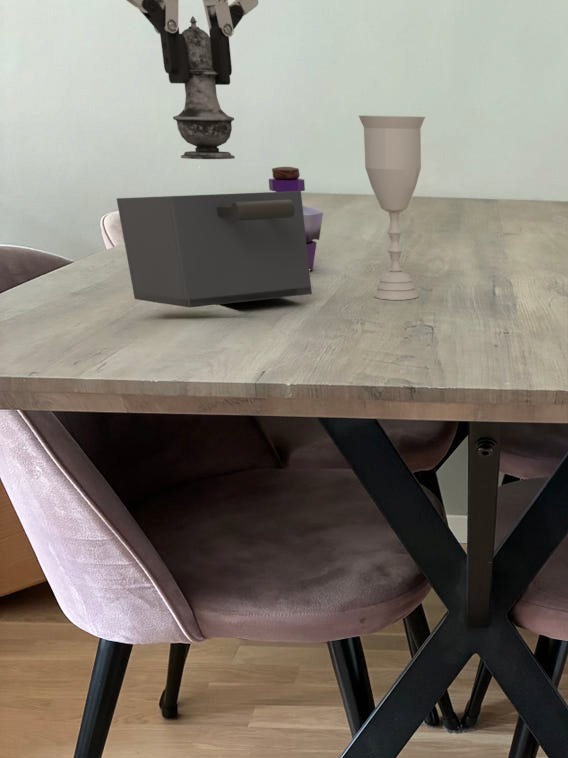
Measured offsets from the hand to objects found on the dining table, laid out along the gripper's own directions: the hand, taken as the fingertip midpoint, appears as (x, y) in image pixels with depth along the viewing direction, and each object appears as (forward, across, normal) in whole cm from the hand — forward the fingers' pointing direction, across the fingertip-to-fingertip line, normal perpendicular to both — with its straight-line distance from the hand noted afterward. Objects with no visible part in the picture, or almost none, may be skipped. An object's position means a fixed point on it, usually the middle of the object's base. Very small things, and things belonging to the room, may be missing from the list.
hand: (199, 81), depth 93 cm
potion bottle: (+21, -18, -16) cm, 32 cm away
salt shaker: (+7, 0, 0) cm, 7 cm away
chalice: (+21, -18, +7) cm, 28 cm away
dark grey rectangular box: (+20, 0, +2) cm, 20 cm away
